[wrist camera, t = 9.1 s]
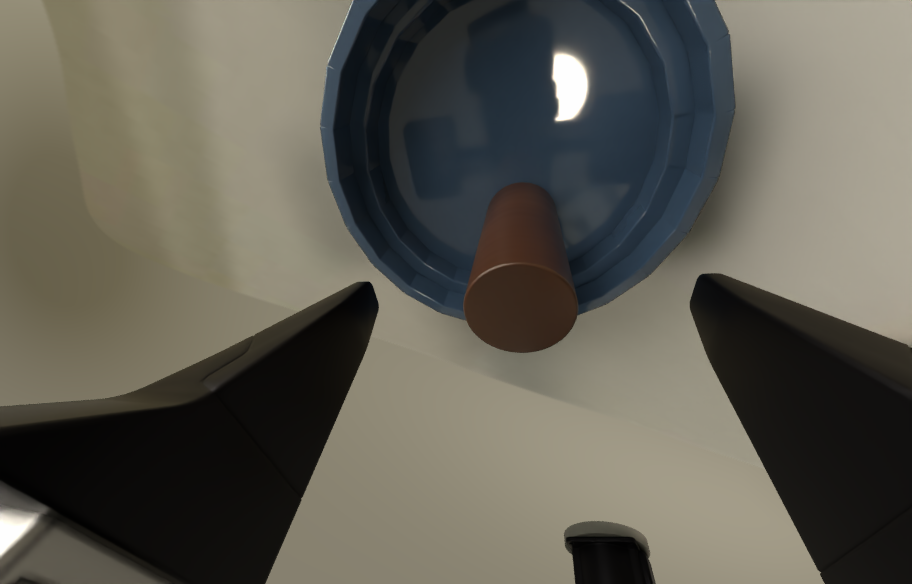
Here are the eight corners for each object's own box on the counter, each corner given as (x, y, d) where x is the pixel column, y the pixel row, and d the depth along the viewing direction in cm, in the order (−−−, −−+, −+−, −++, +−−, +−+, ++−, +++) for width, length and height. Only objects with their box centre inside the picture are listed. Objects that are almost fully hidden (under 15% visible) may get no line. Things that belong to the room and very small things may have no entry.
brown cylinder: (502, 255, 15) (490, 363, 10) (475, 199, 14) (443, 285, 8) (565, 232, 14) (592, 339, 9) (542, 169, 13) (556, 245, 7)
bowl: (447, 315, 19) (435, 354, 16) (298, 79, 13) (242, 80, 11) (706, 235, 14) (748, 272, 11) (646, -205, 8) (703, -333, 6)
